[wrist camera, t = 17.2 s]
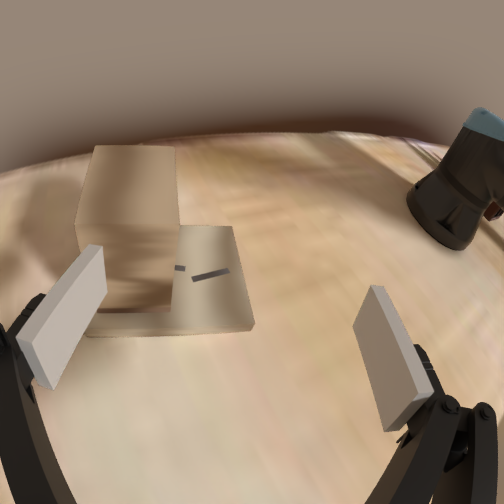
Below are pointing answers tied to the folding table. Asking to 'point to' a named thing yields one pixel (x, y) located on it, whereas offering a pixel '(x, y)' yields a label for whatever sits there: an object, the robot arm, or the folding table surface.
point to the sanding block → (132, 224)
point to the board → (192, 292)
